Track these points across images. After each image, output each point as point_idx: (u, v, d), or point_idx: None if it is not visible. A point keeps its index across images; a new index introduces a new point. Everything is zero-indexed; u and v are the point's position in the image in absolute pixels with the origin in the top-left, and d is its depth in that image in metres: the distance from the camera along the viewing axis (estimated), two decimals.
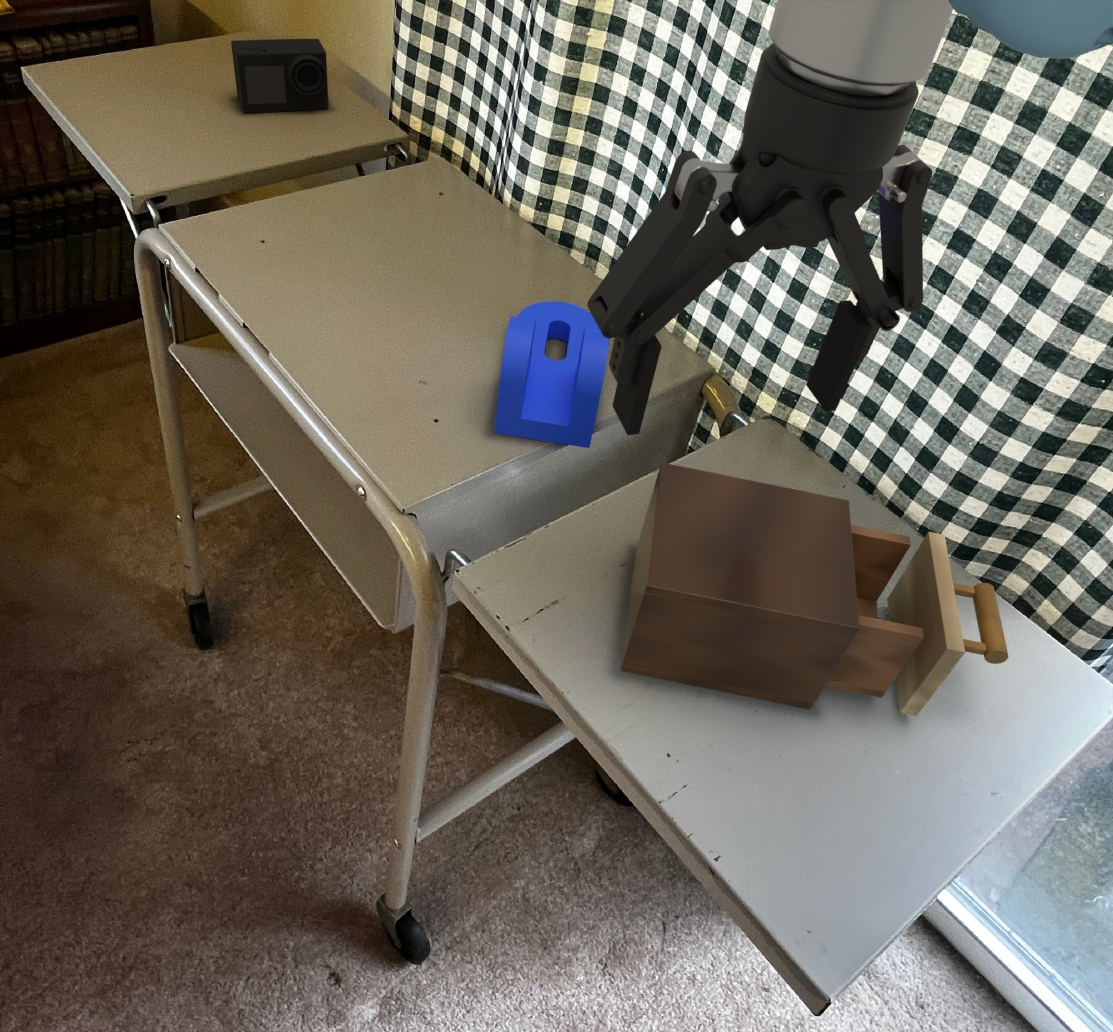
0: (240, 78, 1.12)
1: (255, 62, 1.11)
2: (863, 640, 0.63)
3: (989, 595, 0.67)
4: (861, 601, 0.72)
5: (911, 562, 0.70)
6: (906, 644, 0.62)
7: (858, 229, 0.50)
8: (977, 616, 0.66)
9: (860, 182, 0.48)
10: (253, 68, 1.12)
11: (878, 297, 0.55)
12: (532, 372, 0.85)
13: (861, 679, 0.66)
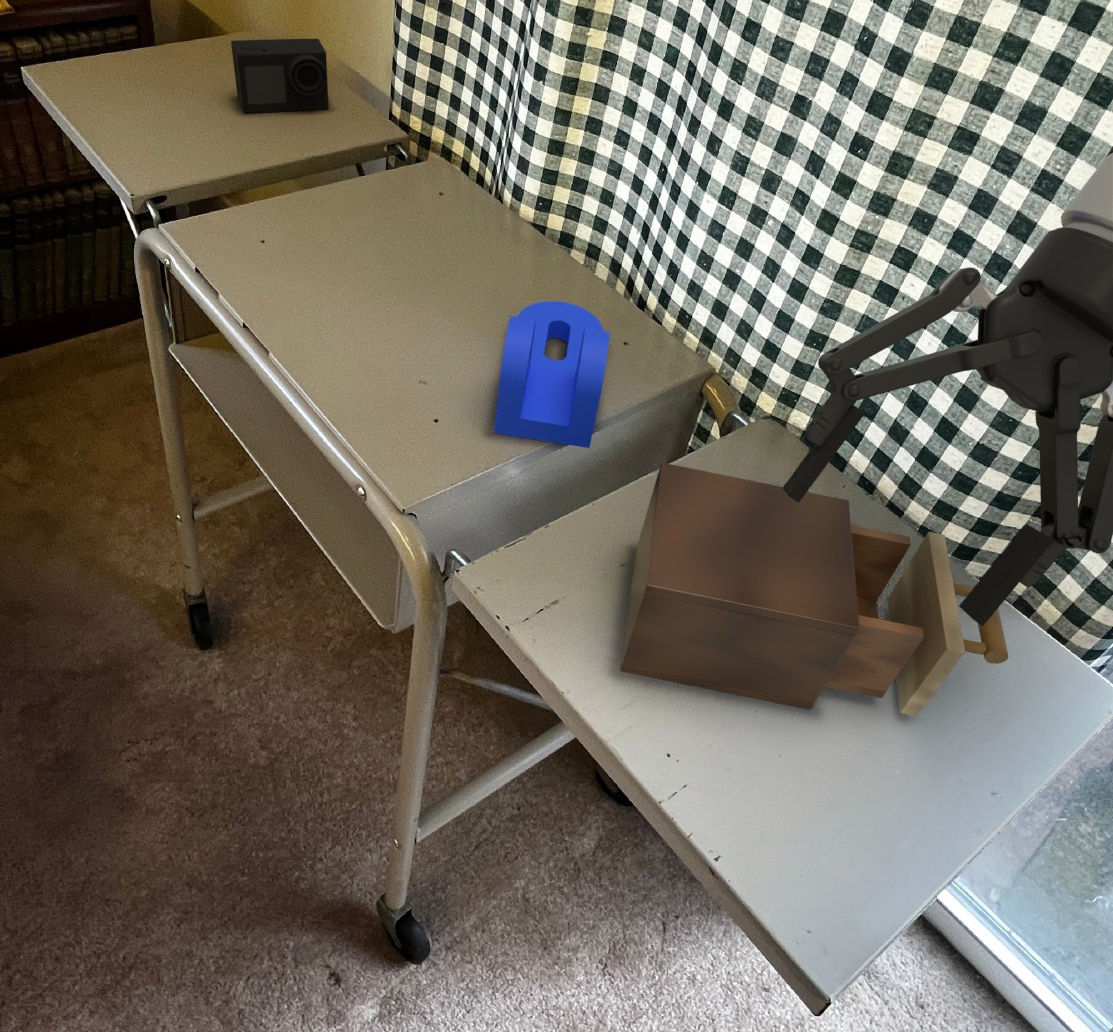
0: (240, 78, 1.12)
1: (255, 62, 1.11)
2: (863, 640, 0.63)
3: None
4: (861, 601, 0.72)
5: (911, 562, 0.70)
6: (906, 644, 0.62)
7: (1078, 407, 0.55)
8: None
9: (1093, 367, 0.55)
10: (253, 68, 1.12)
11: (1069, 509, 0.56)
12: (532, 372, 0.85)
13: (861, 679, 0.66)
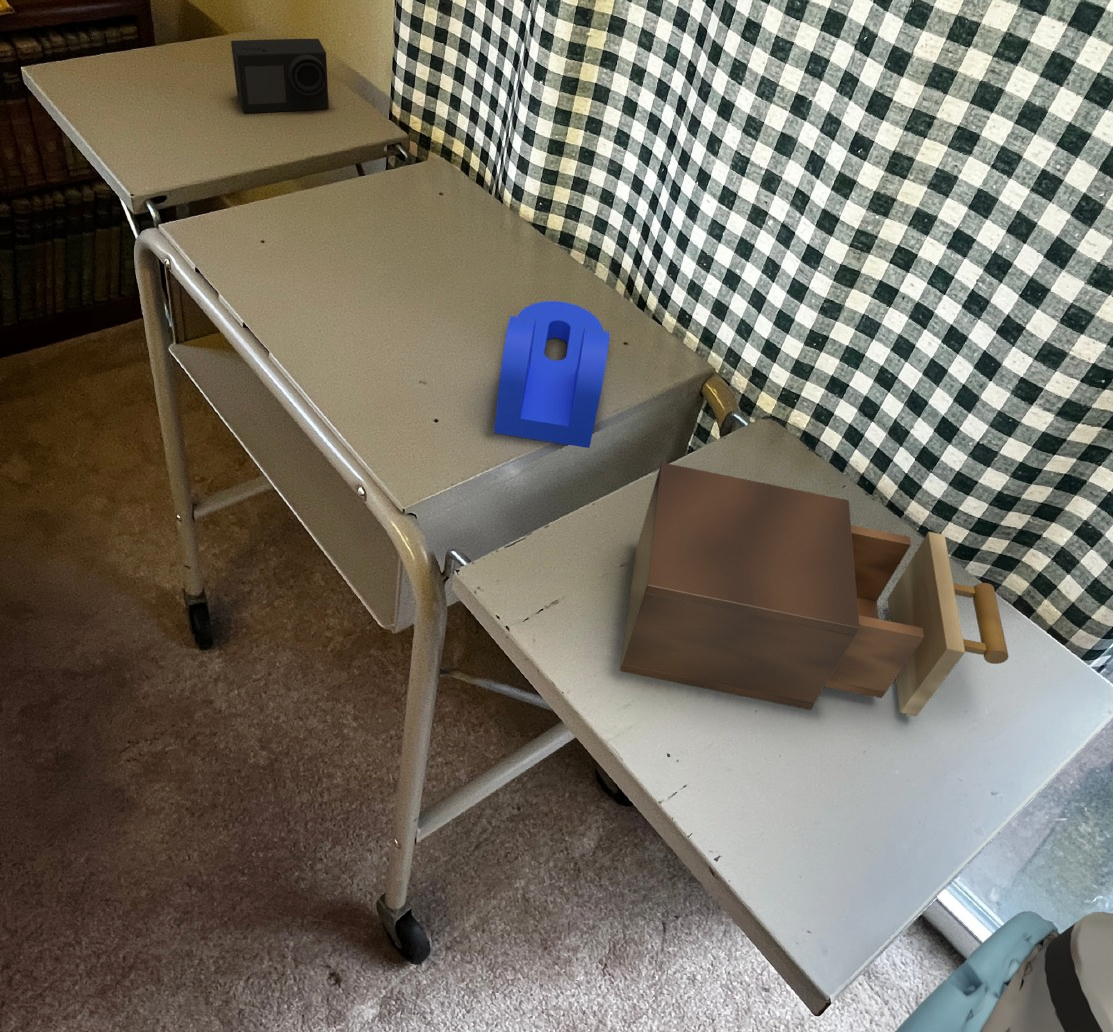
0: (240, 78, 1.12)
1: (255, 62, 1.11)
2: (863, 640, 0.63)
3: (989, 595, 0.67)
4: (861, 601, 0.72)
5: (911, 562, 0.70)
6: (906, 644, 0.62)
7: None
8: (977, 616, 0.66)
9: None
10: (253, 68, 1.12)
11: None
12: (532, 372, 0.85)
13: (861, 679, 0.66)
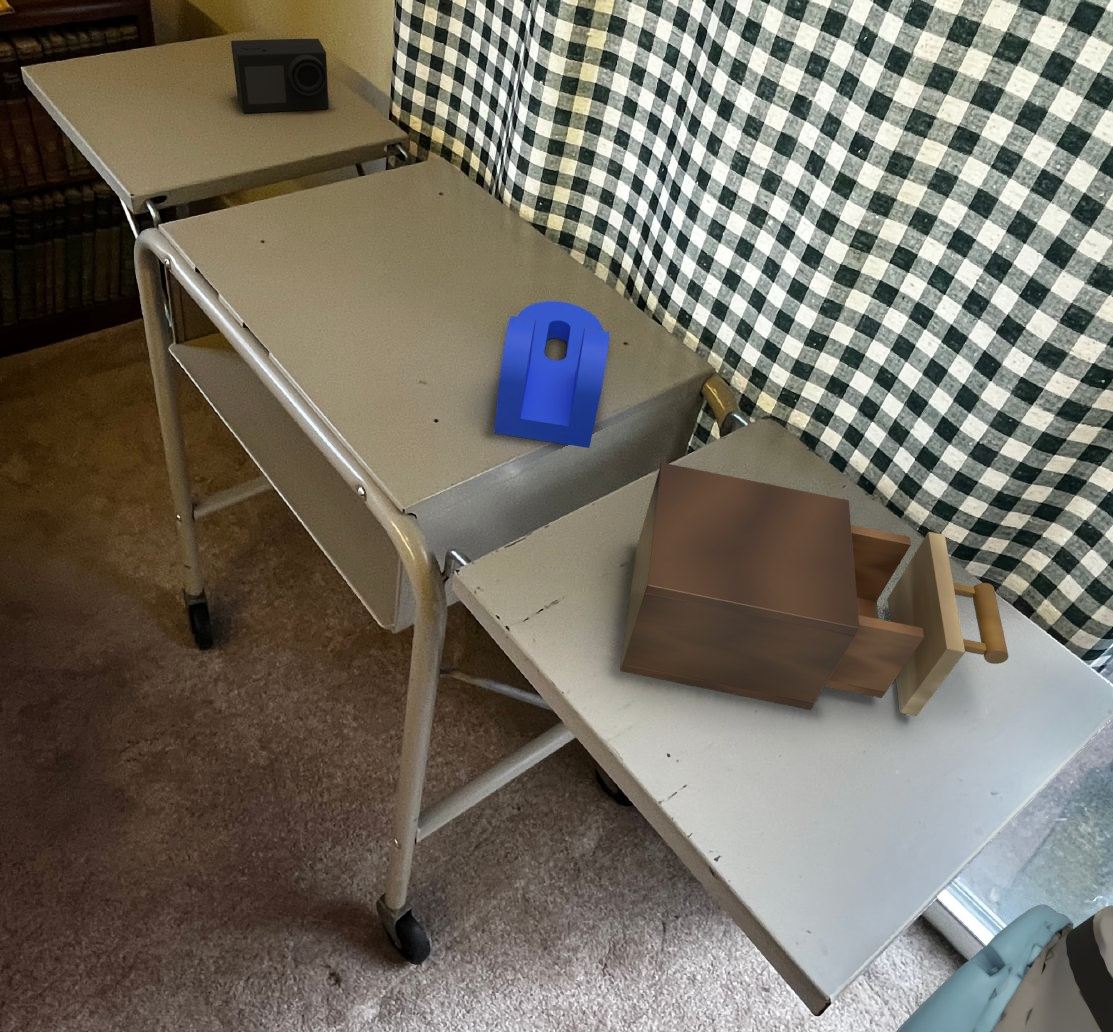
0: (240, 78, 1.12)
1: (255, 62, 1.11)
2: (863, 640, 0.63)
3: (989, 595, 0.67)
4: (861, 601, 0.72)
5: (911, 562, 0.70)
6: (906, 644, 0.62)
7: None
8: (977, 616, 0.66)
9: None
10: (253, 68, 1.12)
11: None
12: (532, 372, 0.85)
13: (861, 679, 0.66)
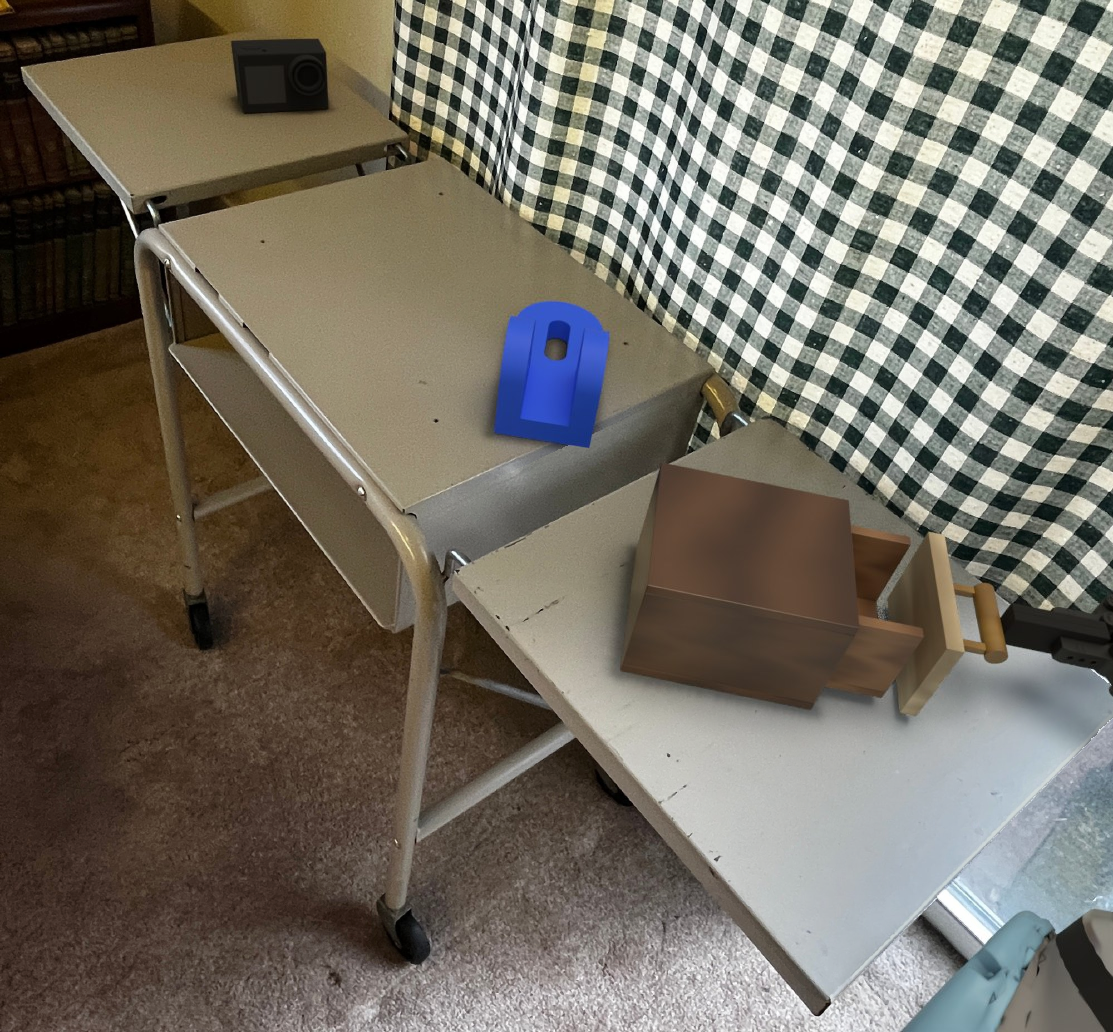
0: (240, 78, 1.12)
1: (255, 62, 1.11)
2: (863, 640, 0.63)
3: (989, 595, 0.67)
4: (861, 601, 0.72)
5: (911, 562, 0.70)
6: (906, 644, 0.62)
7: None
8: (977, 616, 0.66)
9: None
10: (253, 68, 1.12)
11: None
12: (531, 372, 0.85)
13: (861, 679, 0.66)
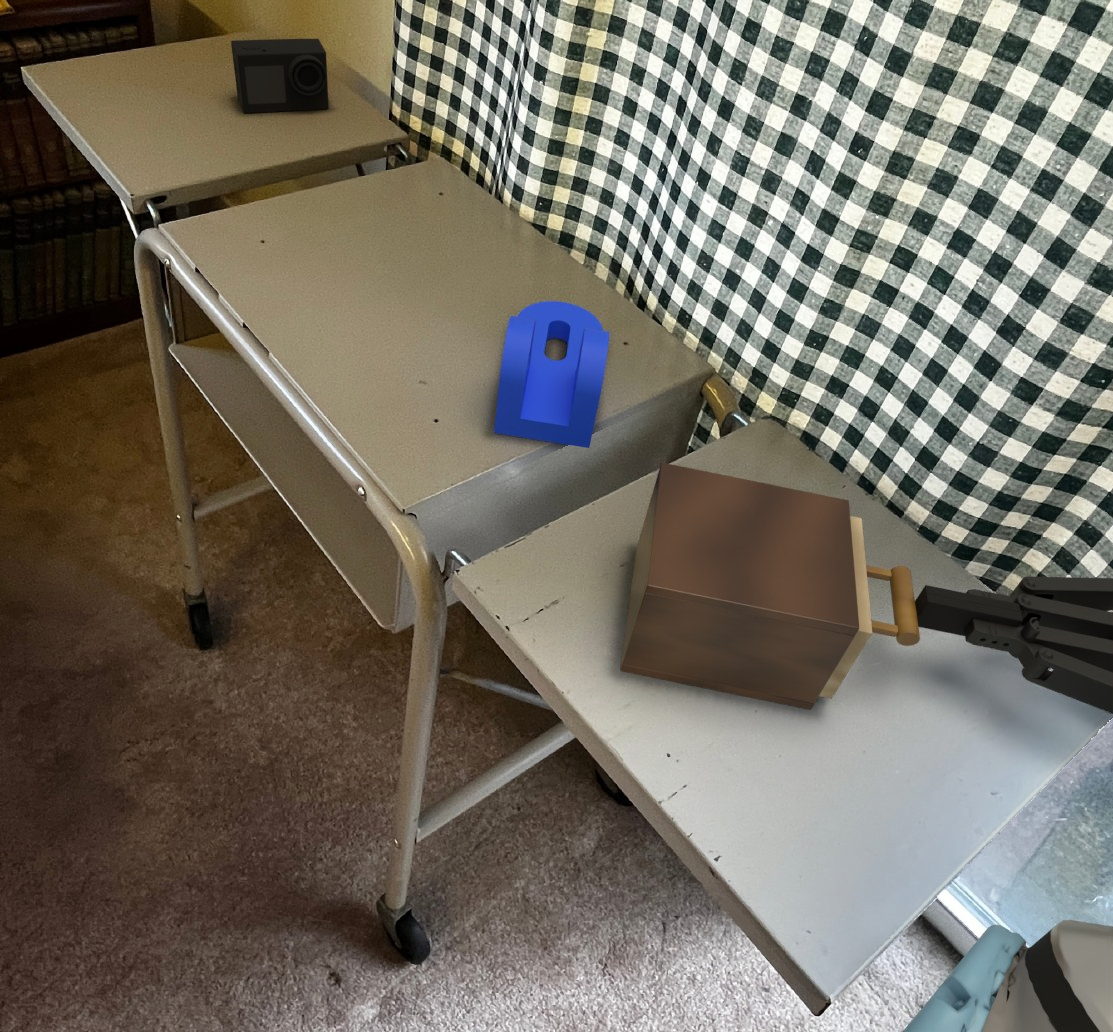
0: (240, 78, 1.12)
1: (255, 62, 1.11)
2: None
3: (905, 578, 0.67)
4: None
5: None
6: None
7: None
8: (892, 599, 0.67)
9: None
10: (253, 68, 1.12)
11: (1057, 637, 0.64)
12: (531, 372, 0.85)
13: None
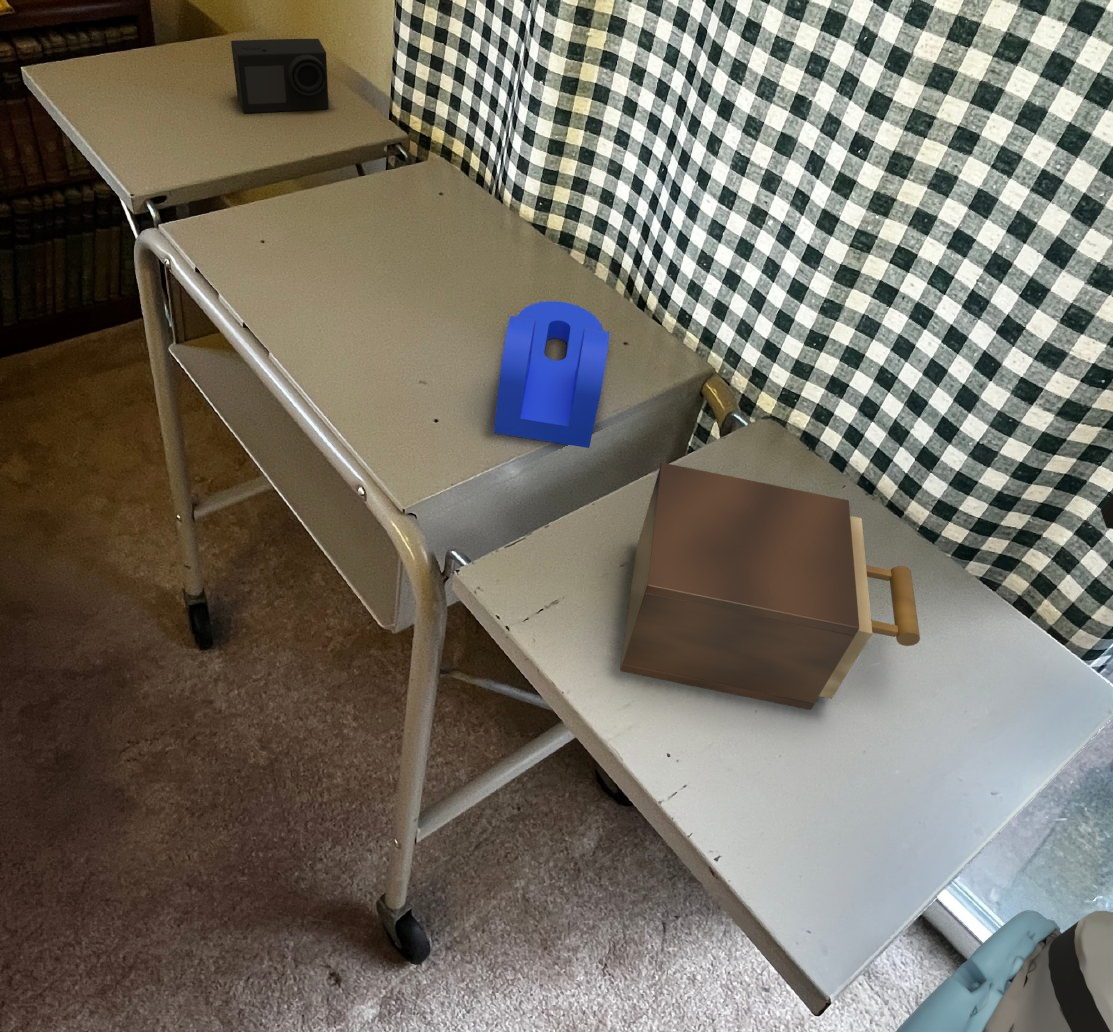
0: (240, 78, 1.12)
1: (255, 62, 1.11)
2: None
3: (905, 578, 0.67)
4: None
5: None
6: None
7: None
8: (892, 599, 0.67)
9: None
10: (253, 68, 1.12)
11: None
12: (531, 372, 0.85)
13: None
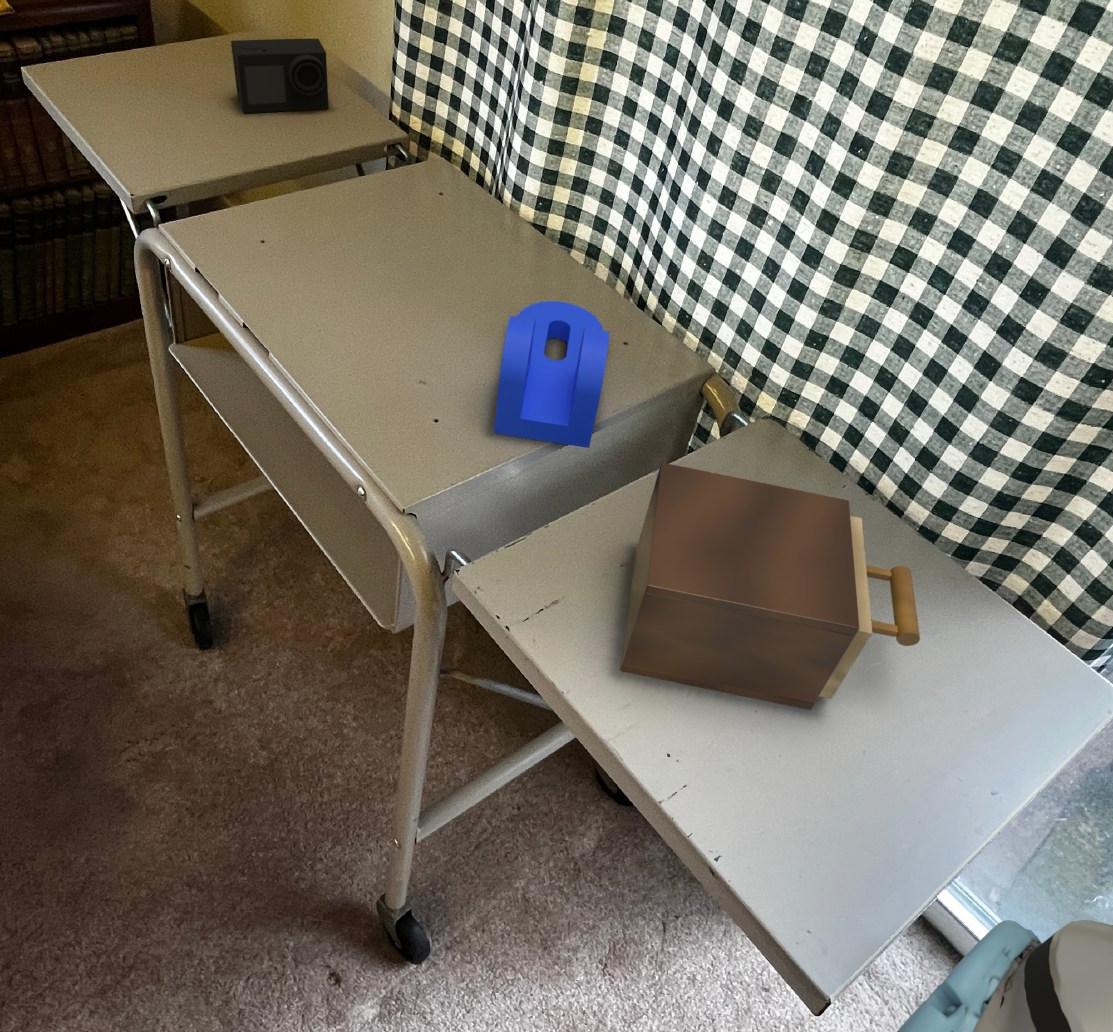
0: (240, 78, 1.12)
1: (255, 62, 1.11)
2: None
3: (905, 578, 0.67)
4: None
5: None
6: None
7: None
8: (892, 599, 0.67)
9: None
10: (253, 68, 1.12)
11: None
12: (531, 372, 0.85)
13: None
